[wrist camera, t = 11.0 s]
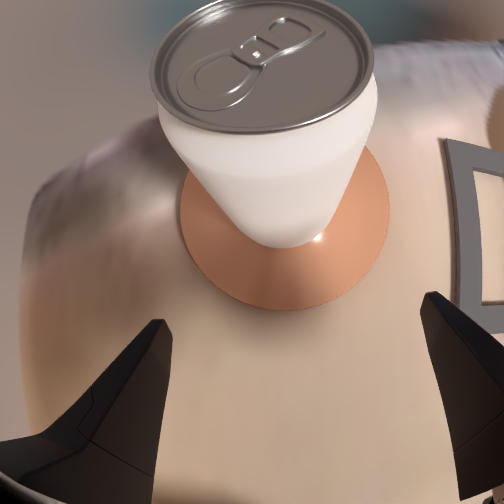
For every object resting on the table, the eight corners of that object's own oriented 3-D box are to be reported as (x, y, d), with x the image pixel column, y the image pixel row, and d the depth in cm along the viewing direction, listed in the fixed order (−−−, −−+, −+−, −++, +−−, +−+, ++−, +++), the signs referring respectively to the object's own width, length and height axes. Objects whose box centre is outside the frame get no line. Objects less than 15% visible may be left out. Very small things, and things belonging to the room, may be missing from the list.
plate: (382, 313, 17) (388, 314, 16) (177, 300, 19) (169, 300, 18) (377, 125, 19) (380, 116, 18) (199, 121, 21) (195, 112, 19)
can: (207, 197, 18) (98, 71, 6) (282, 130, 18) (261, -31, 6) (280, 273, 17) (250, 220, 5) (357, 198, 17) (435, 56, 5)
